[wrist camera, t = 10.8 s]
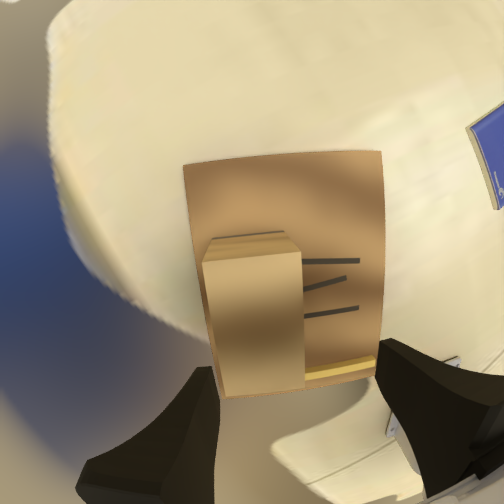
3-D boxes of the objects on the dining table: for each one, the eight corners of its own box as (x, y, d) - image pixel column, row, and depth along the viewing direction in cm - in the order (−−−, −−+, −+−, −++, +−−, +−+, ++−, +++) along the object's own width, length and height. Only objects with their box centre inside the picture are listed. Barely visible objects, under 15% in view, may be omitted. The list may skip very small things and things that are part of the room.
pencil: (372, 354, 21) (375, 359, 21) (371, 361, 22) (374, 366, 21) (234, 376, 21) (234, 382, 21) (235, 383, 21) (235, 389, 21)
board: (369, 367, 23) (374, 375, 22) (222, 390, 23) (222, 399, 22) (373, 151, 19) (381, 150, 18) (186, 166, 18) (182, 165, 17)
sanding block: (290, 339, 21) (304, 387, 15) (228, 346, 21) (225, 396, 15) (283, 230, 19) (301, 251, 13) (212, 237, 19) (201, 262, 13)
